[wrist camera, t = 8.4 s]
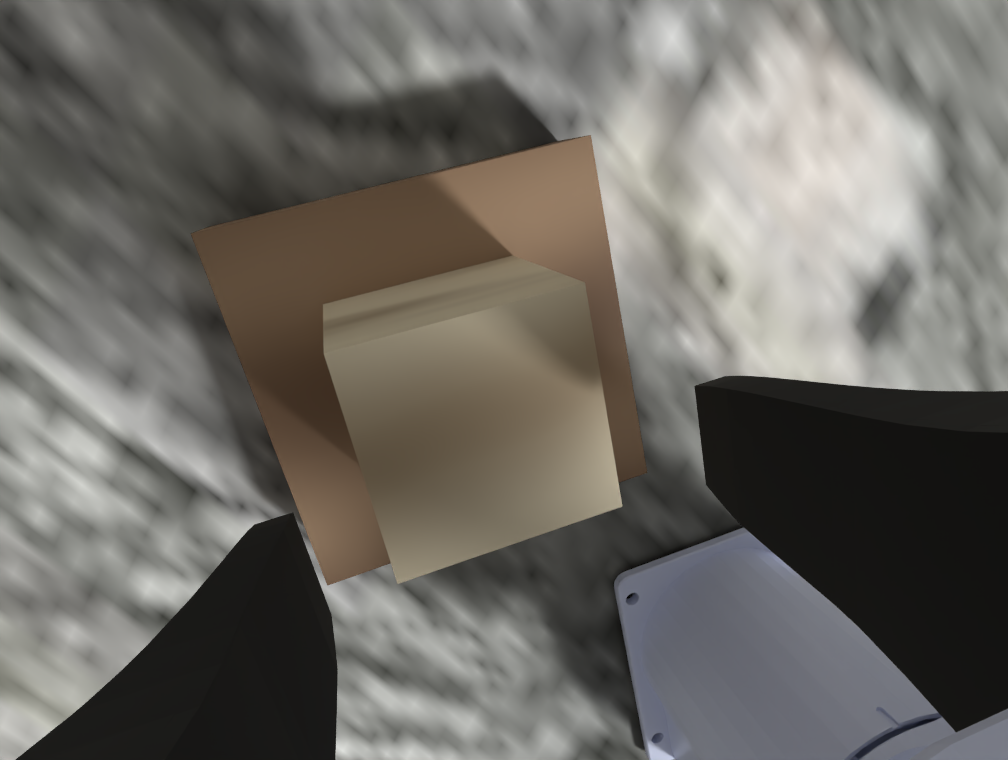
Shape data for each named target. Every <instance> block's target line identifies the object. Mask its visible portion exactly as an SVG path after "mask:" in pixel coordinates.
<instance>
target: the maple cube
mask: <svg viewBox="0 0 1008 760" xmlns="http://www.w3.org/2000/svg"><path fill="white" fill-rule="evenodd" d="M323 346H324V356H325V359H326V363H327V366H328V369H329V372H330V375H331V378H332V381H333V384H334V387H335V391H336V394H337V397H338V400H339V403H340V406H341V409H342V412H343V415H344V419H345V422H346V425H347V428H348V431H349V434H350V437H351V440H352V443H353V447H354V450H355V453H356V456H357V459H358V462H359V465H360V468H361V471H362V475H363V478H364V481H365V484H366V487H367V490H368V493H369V496H370V500H371V503H372V506H373V509H374V512H375V515H376V518H377V521H378V524H379V528H380V531H381V534H382V537H383V540H384V543H385V546H386V549H387V552H388V556H389V559H390V562H391V565H392V568H393V571H394V574H395V577H396V580H397V584H399V583H402V582H405V581H408V580H411V579H414V578H416V577H419V576H422V575H425V574H428V573H431V572H434V571H437V570H440V569H443V568H445V567H448V566H451V565H454V564H457V563H460V562H463V561H466V560H469V559H472V558H475V557H477V556H480V555H483V554H486V553H489V552H492V551H495V550H498V549H501V548H504V547H506V546H509V545H512V544H515V543H518V542H521V541H524V540H527V539H530V538H533V537H535V536H538V535H541V534H544V533H547V532H550V531H553V530H556V529H559V528H562V527H564V526H567V525H570V524H573V523H576V522H579V521H582V520H585V519H588V518H591V517H594V516H596V515H599V514H602V513H605V512H608V511H611V510H614V509H617V508H620V507H622V501H621V495H620V489H619V483H618V477H617V471H616V465H615V459H614V453H613V447H612V441H611V435H610V429H609V423H608V417H607V411H606V405H605V399H604V393H603V387H602V381H601V375H600V369H599V364H598V358H597V352H596V346H595V340H594V334H593V328H592V322H591V316H590V310H589V304H588V298H587V292H586V286H585V282H582V281H580V280H577V279H574V278H572V277H569V276H566V275H564V274H561V273H558V272H556V271H553V270H550V269H548V268H545V267H542V266H540V265H537V264H534V263H532V262H529V261H526V260H524V259H521V258H518V257H516V256H513V255H512V256H509V257H505V258H501V259H497V260H493V261H489V262H485V263H481V264H478V265H474V266H470V267H466V268H462V269H458V270H454V271H450V272H447V273H443V274H439V275H435V276H431V277H427V278H423V279H419V280H415V281H412V282H408V283H404V284H400V285H396V286H392V287H388V288H384V289H381V290H377V291H373V292H369V293H365V294H361V295H357V296H353V297H350V298H346V299H342V300H338V301H334V302H330V303H326V304H323Z"/></svg>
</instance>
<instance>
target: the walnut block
mask: <svg viewBox="0 0 1008 760" xmlns="http://www.w3.org/2000/svg"><path fill="white" fill-rule="evenodd" d="M191 236H192V238H193V241H194V243H195V246H196V249H197V251H198V254H199V256H200V259H201V261H202V264H203V267H204V269H205V272H206V274H207V277H208V279H209V282H210V285H211V287H212V290H213V292H214V295H215V297H216V300H217V303H218V305H219V308H220V310H221V313H222V315H223V318H224V321H225V323H226V326H227V328H228V331H229V333H230V336H231V339H232V341H233V344H234V346H235V349H236V351H237V354H238V357H239V359H240V362H241V364H242V367H243V369H244V372H245V375H246V377H247V380H248V382H249V385H250V387H251V390H252V393H253V395H254V398H255V400H256V403H257V405H258V408H259V411H260V413H261V416H262V418H263V421H264V423H265V426H266V429H267V431H268V434H269V436H270V439H271V441H272V444H273V447H274V449H275V452H276V454H277V457H278V459H279V462H280V465H281V467H282V470H283V472H284V475H285V477H286V480H287V483H288V485H289V488H290V490H291V493H292V495H293V498H294V501H295V503H296V506H297V508H298V511H299V513H300V516H301V519H302V521H303V524H304V526H305V529H306V531H307V534H308V537H309V539H310V542H311V544H312V547H313V549H314V552H315V555H316V557H317V560H318V562H319V565H320V567H321V570H322V573H323V575H324V578H325V580H326V583H327V585H330V584H333V583H336V582H339V581H341V580H344V579H347V578H350V577H353V576H356V575H358V574H361V573H364V572H367V571H370V570H373V569H375V568H378V567H381V566H384V565H387V564H390V563H391V562H390V559H389V556H388V552H387V549H386V546H385V543H384V540H383V537H382V534H381V531H380V528H379V524H378V521H377V518H376V515H375V512H374V509H373V506H372V503H371V500H370V496H369V493H368V490H367V487H366V484H365V481H364V478H363V475H362V471H361V468H360V465H359V462H358V459H357V456H356V453H355V450H354V447H353V443H352V440H351V437H350V434H349V431H348V428H347V425H346V422H345V419H344V415H343V412H342V409H341V406H340V403H339V400H338V397H337V394H336V391H335V387H334V384H333V381H332V378H331V375H330V372H329V369H328V366H327V363H326V359H325V356H324V346H323V304H326V303H330V302H334V301H338V300H342V299H346V298H350V297H353V296H357V295H361V294H365V293H369V292H373V291H377V290H381V289H384V288H388V287H392V286H396V285H400V284H404V283H408V282H412V281H415V280H419V279H423V278H427V277H431V276H435V275H439V274H443V273H447V272H450V271H454V270H458V269H462V268H466V267H470V266H474V265H478V264H481V263H485V262H489V261H493V260H497V259H501V258H505V257H509V256H512V255H513V256H516V257H518V258H521V259H524V260H526V261H529V262H532V263H534V264H537V265H540V266H542V267H545V268H548V269H550V270H553V271H556V272H558V273H561V274H564V275H566V276H569V277H572V278H574V279H577V280H580V281H582V282H585V286H586V292H587V298H588V304H589V310H590V316H591V322H592V328H593V334H594V340H595V346H596V352H597V358H598V364H599V369H600V375H601V381H602V387H603V393H604V399H605V405H606V411H607V417H608V423H609V429H610V435H611V441H612V447H613V453H614V459H615V465H616V471H617V477H618V483H620V482H623V481H625V480H628V479H631V478H634V477H637V476H640V475H642V474H645V473H647V468H646V462H645V456H644V450H643V444H642V438H641V432H640V426H639V420H638V414H637V408H636V402H635V397H634V391H633V385H632V379H631V373H630V367H629V361H628V355H627V349H626V343H625V337H624V331H623V325H622V319H621V313H620V307H619V301H618V295H617V289H616V283H615V277H614V271H613V265H612V259H611V253H610V247H609V241H608V236H607V230H606V224H605V218H604V212H603V206H602V200H601V194H600V188H599V182H598V176H597V170H596V164H595V158H594V152H593V146H592V140H591V135H589V136H583V137H578V138H572V139H567V140H561V141H556V142H552V143H548V144H544V145H540V146H536V147H532V148H528V149H524V150H520V151H516V152H512V153H507V154H503V155H499V156H495V157H491V158H487V159H483V160H479V161H475V162H471V163H467V164H463V165H459V166H454V167H450V168H446V169H442V170H438V171H434V172H430V173H426V174H422V175H418V176H414V177H410V178H406V179H402V180H397V181H393V182H389V183H385V184H381V185H377V186H373V187H369V188H365V189H361V190H357V191H353V192H349V193H344V194H340V195H336V196H332V197H328V198H324V199H320V200H316V201H312V202H308V203H304V204H300V205H296V206H292V207H287V208H283V209H279V210H275V211H271V212H267V213H263V214H259V215H255V216H251V217H247V218H243V219H239V220H234V221H230V222H226V223H222V224H218V225H214V226H210V227H207V228H204V229H202V230H199V231H196V232H194V233H191Z"/></svg>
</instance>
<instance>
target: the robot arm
mask: <svg viewBox="0 0 1008 760" xmlns="http://www.w3.org/2000/svg"><path fill="white" fill-rule="evenodd" d="M695 394H696V402H697V411H698V419H699V428H700V436H701V445H702V453H703V462H704V471H705V479H706V485H707V486H708V488H709V489H710V490H711V491H712V492H713V494H714V495H715V496H716V497H717V498H718V500H719V501H720V502H721V503H722V504H723V506H724V507H725V508H726V509H727V510H728V511H729V512H730V513H731V515H732V516H733V517H734V518H735V519H736V520H737V521H738V522H739V523H740V524H741V525H742V526H743V528H741V529H738V530H735V531H733V532H730V533H727V534H725V535H722V536H719V537H716V538H714V539H711V540H708V541H706V542H703V543H700V544H698V545H695V546H692V547H689V548H687V549H684V550H681V551H679V552H676V553H673V554H671V555H668V556H665V557H662V558H660V559H657V560H654V561H652V562H649V563H646V564H644V565H641V566H638V567H635V568H633V569H630V570H627V571H625V572H623V573H621V574H620V575H619V576H618V577H617V578H616V580H615V582H614V590H615V595H616V600H617V605H618V610H619V616H620V621H621V626H622V631H623V637H624V642H625V647H626V652H627V658H628V663H629V668H630V673H631V679H632V684H633V689H634V694H635V700H636V705H637V710H638V715H639V721H640V726H641V731H642V736H643V742H644V747H645V752H646V755H647V757H648V759H649V760H672V759H674V758H675V759H676V760H1008V391H996V392H972V391H918V390H901V389H886V388H871V387H860V386H848V385H838V384H828V383H818V382H809V381H799V380H789V379H780V378H769V377H755V376H725V377H722V378H718V379H715V380H712V381H709V382H706V383H703V384H699V385H696V386H695ZM631 593H634V594H633V596H632V597H631V598H629V599H626V598H627V597H628V595H630V594H631ZM336 716H337V660H336V650H335V641H334V633H333V624H332V616H331V613H330V610H329V607H328V605H327V602H326V599H325V597H324V594H323V591H322V589H321V586H320V583H319V581H318V578H317V575H316V573H315V570H314V567H313V565H312V562H311V559H310V557H309V554H308V551H307V549H306V546H305V543H304V541H303V538H302V535H301V533H300V530H299V527H298V525H297V522H296V519H295V517H294V514H293V513H290V514H287V515H284V516H280V517H277V518H274V519H271V520H268V521H265V522H261V523H258V524H255V525H254V526H253V527H252V528H250V529H249V530H248V532H247V533H246V534H245V535H244V536H243V537H242V538H241V539H240V540H239V542H238V543H237V544H236V545H235V546H234V548H233V549H232V550H231V551H230V552H229V554H228V555H227V556H226V557H225V558H224V560H223V561H222V562H221V563H220V564H219V566H218V567H217V568H216V569H215V570H214V572H213V573H212V574H211V575H210V576H209V577H208V579H207V580H206V581H205V582H204V583H203V585H202V586H201V587H200V588H199V589H198V591H197V592H196V593H195V594H194V595H193V596H192V598H191V599H190V600H189V601H188V602H187V603H186V604H185V605H184V606H183V607H182V608H181V609H180V611H179V612H178V613H177V614H176V615H175V616H174V617H173V618H172V619H171V620H170V621H169V622H168V624H167V625H166V626H165V627H164V628H163V629H162V630H161V631H160V632H159V633H158V634H157V635H156V636H155V638H154V639H153V640H152V641H151V642H150V643H149V644H148V645H147V646H146V647H145V648H144V649H143V650H142V651H141V652H140V653H139V654H138V655H137V656H136V657H135V658H134V659H133V660H132V661H131V662H130V663H129V664H128V665H127V666H126V667H125V668H124V669H123V670H122V671H121V672H119V673H118V674H117V675H116V676H115V677H114V678H113V679H112V680H111V681H110V682H108V683H107V684H106V685H105V686H104V687H103V688H102V689H101V690H100V691H99V692H97V693H96V694H95V695H94V696H93V697H92V698H91V699H90V700H89V701H87V702H86V703H85V704H84V705H83V706H82V707H80V708H79V709H78V710H77V711H76V712H75V713H73V714H72V715H71V716H70V717H69V718H67V719H66V720H65V721H64V722H62V723H61V724H60V725H58V726H57V727H56V728H55V729H53V730H52V731H51V732H50V733H48V734H47V735H46V736H45V737H43V738H42V739H41V740H40V741H38V742H37V743H36V744H35V745H33V746H32V747H31V748H30V749H28V750H27V751H26V752H25V753H23V754H22V755H21V756H20V757H18V758H17V759H16V760H335V750H336Z"/></svg>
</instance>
